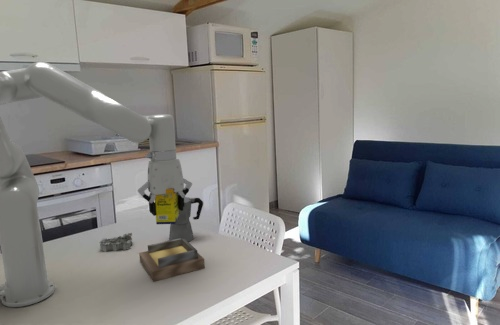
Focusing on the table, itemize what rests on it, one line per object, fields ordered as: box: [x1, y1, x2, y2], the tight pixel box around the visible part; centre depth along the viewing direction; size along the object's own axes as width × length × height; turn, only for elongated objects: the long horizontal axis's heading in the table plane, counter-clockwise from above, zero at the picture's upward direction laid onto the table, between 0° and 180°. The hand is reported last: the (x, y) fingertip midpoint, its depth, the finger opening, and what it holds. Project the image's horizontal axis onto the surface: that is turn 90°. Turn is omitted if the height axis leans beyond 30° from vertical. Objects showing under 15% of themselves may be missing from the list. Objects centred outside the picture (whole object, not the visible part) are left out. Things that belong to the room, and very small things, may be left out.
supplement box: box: [154, 188, 179, 225], centre depth 115 cm, size 6×6×11 cm
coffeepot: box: [168, 196, 204, 243], centre depth 138 cm, size 15×9×18 cm, turn 92°
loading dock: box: [138, 238, 206, 282], centre depth 118 cm, size 16×16×6 cm
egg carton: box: [99, 232, 133, 253], centre depth 134 cm, size 11×8×4 cm
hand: (167, 211), depth 115 cm, fingers closed on supplement box, 8 cm apart
